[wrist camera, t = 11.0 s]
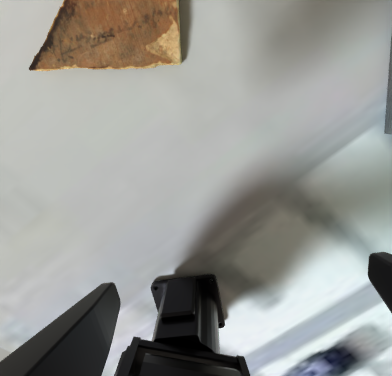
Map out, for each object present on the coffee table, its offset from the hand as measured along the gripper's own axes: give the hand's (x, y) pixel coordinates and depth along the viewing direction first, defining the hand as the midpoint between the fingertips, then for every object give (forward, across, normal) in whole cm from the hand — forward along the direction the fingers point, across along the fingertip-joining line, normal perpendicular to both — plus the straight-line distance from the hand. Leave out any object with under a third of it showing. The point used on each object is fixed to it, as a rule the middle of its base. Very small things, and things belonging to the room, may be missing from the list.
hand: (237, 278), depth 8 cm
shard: (+12, +5, -12) cm, 18 cm away
